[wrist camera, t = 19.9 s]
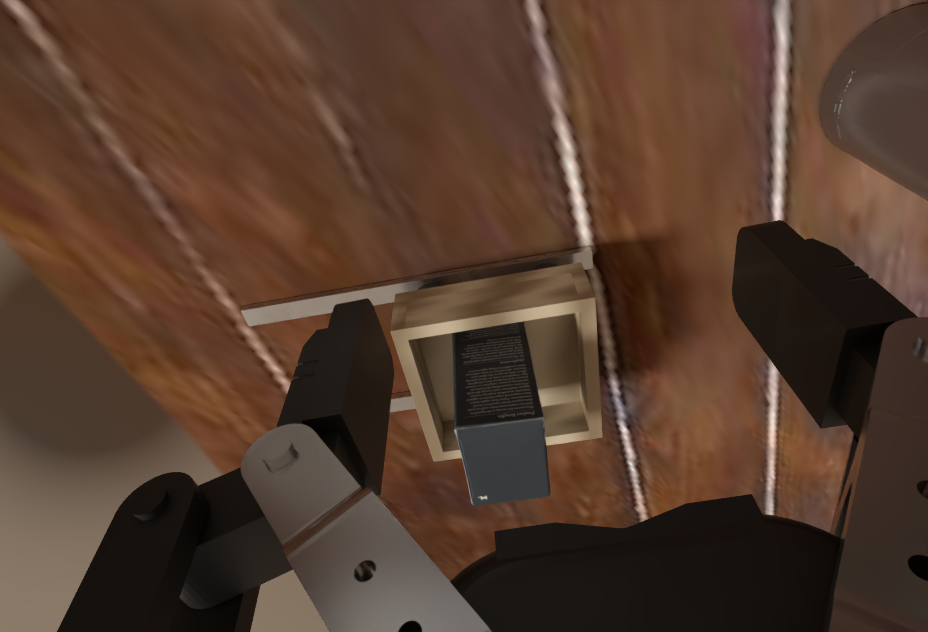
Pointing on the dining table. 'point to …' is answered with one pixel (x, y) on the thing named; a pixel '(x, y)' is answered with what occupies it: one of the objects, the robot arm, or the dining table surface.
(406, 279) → the rails
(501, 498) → the box
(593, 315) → the light wooden open box
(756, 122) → the dining table surface
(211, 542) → the robot arm
